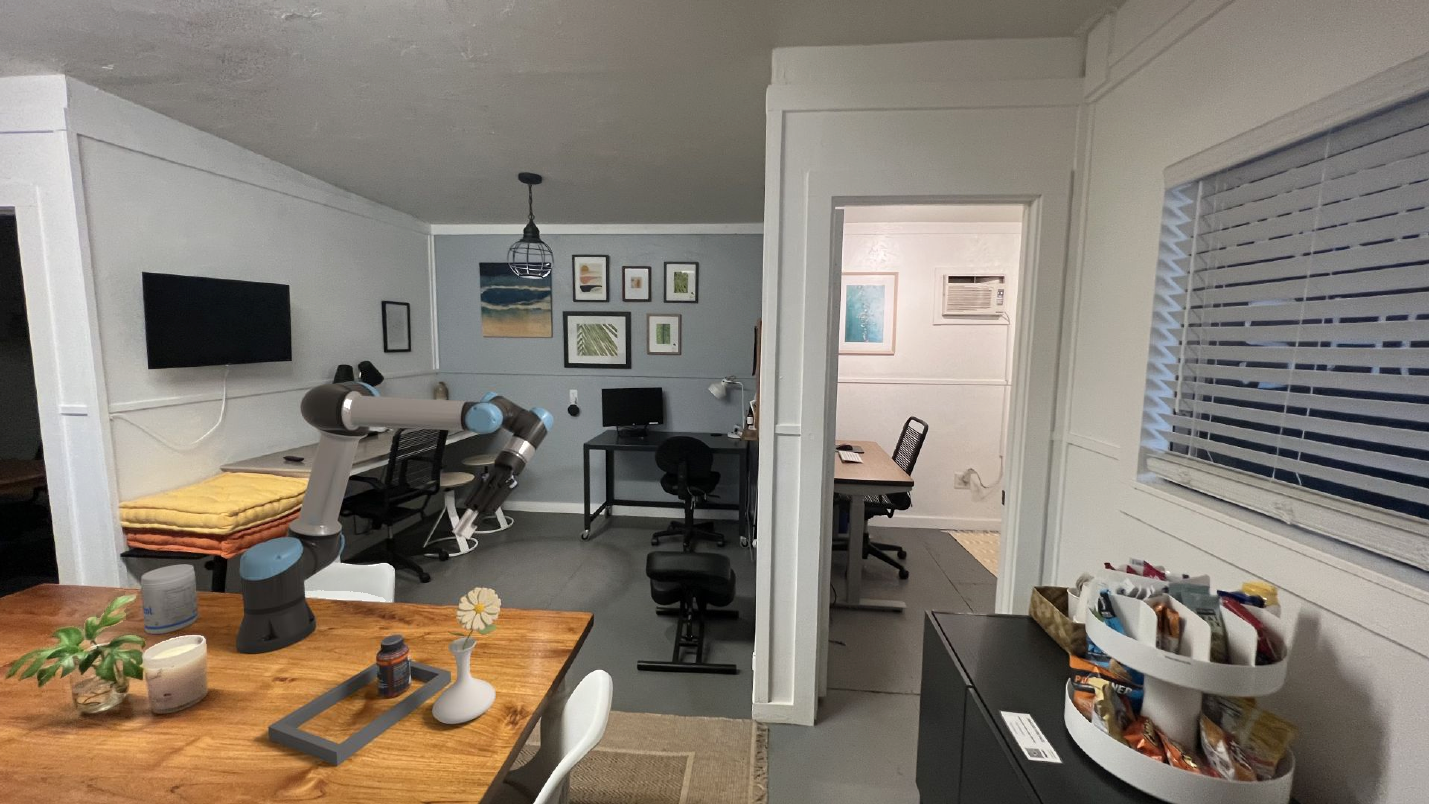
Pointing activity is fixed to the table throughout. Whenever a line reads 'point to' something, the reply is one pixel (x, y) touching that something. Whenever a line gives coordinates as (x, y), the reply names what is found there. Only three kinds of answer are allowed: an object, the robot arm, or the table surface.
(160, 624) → the supplement tub
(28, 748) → the table surface
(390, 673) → the supplement bottle
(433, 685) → the corral
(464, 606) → the flower in vase
